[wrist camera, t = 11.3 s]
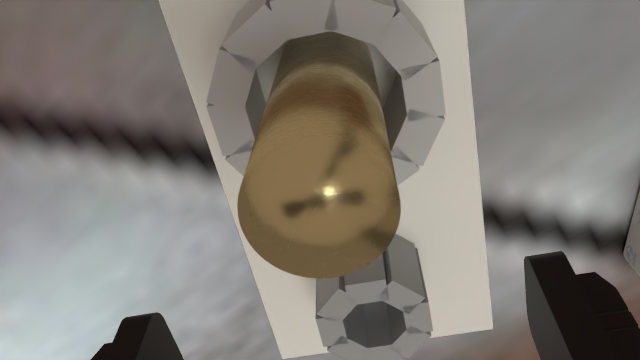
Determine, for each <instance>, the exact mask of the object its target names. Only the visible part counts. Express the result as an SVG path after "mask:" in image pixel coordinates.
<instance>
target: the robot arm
mask: <svg viewBox="0 0 640 360" xmlns="http://www.w3.org/2000/svg"><path fill="white" fill-rule="evenodd" d="M524 270H525V287H526V304H527V315H528V321H529V326H530V330H531V333H532V337H533V340H534V343H535V345H536V348H537V350H538V353H539V356H540V358H541V360H640V329H639V328H638V324H637V322H636V321H635V319H634V317H633V316H632V314H631V312H629V311H628V307H627V306H626V304H625V302H624V301H623V299H622V297H621V295H620V294H619V292H618V290H617V289H616V288H615V287H614V286H613V285H611V284H610V283H609V282H607V281H606V280H605V279H603V278H602V277H601V276H599V275H598V274H597V273H595V272H591V273H584V274H578V275H575V273H574V271H573V269H572V267H571V265H570V263H569V261H568V259H567V257H566V256H565V254H564V253H563V252H562V251H559V252H552V253H546V254H539V255H533V256H526V257H525V259H524ZM91 360H184V359H183V357H182V355H181V353H180V351H179V349H178V346H177V344H176V342H175V340H174V338H173V336H172V334H171V332H170V330H169V328H168V326H167V324H166V322H165V320H164V318H163V316H162V315H161V314H160V313H150V314H144V315H137V316H131V317H126V318H124V319H123V320H122V322H121V324H120V326H119V328H118V331H117V333H116V336H115V338H114V340H113V343H107V344H104V345H103V346H102V347H101V349H100V350H99V351H98V352H97V353H96V354H95V355H94V357H93V358H92V359H91Z"/></svg>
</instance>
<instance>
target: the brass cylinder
mask: <svg viewBox="0 0 640 360" xmlns="http://www.w3.org/2000/svg"><path fill="white" fill-rule="evenodd" d="M237 210H238V218H239V223H240V226H241V229H242V232H243V234H244V235H245V237H246V239H247V241H248V242H249V244H250V245H251V247H252V248H253V249H254V250H255V251H256V252H257V253H258V255H260V256H261V257H262V258H263V259H264V260H265V261H267V262H268V263H270V264H271V265H273V266H274V267H276V268H278V269H280V270H282V271H285V272H287V273H290V274H293V275H297V276H301V277H306V278H318V279H324V278H334V277H340V276H344V275H347V274H351V273H353V272H356V271H358V270H360V269H362V268H364V267H366V266H367V265H369V264H370V263H372V262H373V261H374V260H376V259H377V258H378V257H379V256H380V255H381V254H382V253H383V252H384V251H385V250H386V248H387V247H388V246H389V245H390V243H391V241H392V239H393V238H394V236H395V233H396V231H397V229H398V225H399V221H400V214H401V203H400V196H399V191H398V186H397V181H396V176H395V171H394V166H393V161H392V156H391V151H390V145H389V140H388V135H387V130H386V125H385V120H384V115H383V110H382V105H381V100H380V95H379V90H378V85H377V80H376V75H375V70H374V65H373V60H372V56H371V53H370V51H369V49H368V47H367V45H366V44H365V42H364V41H361V40H358V39H355V38H352V37H349V36H346V35H343V34H339V33H336V32H333V31H328V32H323V33H318V34H314V35H309V36H304V37H299V38H294V39H291V40H290V41H289V42H288V44H287V45H286V47H285V49H284V51H283V53H282V56H281V59H280V62H279V65H278V68H277V72H276V75H275V78H274V81H273V84H272V88H271V91H270V94H269V97H268V100H267V103H266V107H265V110H264V113H263V116H262V119H261V123H260V126H259V129H258V132H257V135H256V138H255V142H254V145H253V148H252V151H251V154H250V158H249V161H248V164H247V167H246V170H245V174H244V177H243V180H242V183H241V186H240V190H239V194H238V202H237Z"/></svg>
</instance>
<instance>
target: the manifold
mask: <svg viewBox="0 0 640 360" xmlns="http://www.w3.org/2000/svg"><path fill="white" fill-rule="evenodd" d="M158 1H159V4H160V7H161V10H162V12H163V15H164V18H165V21H166V24H167V27H168V30H169V33H170V36H171V38H172V41H173V44H174V47H175V50H176V53H177V56H178V59H179V62H180V64H181V67H182V70H183V73H184V76H185V79H186V82H187V85H188V87H189V90H190V93H191V96H192V99H193V102H194V105H195V108H196V111H197V113H198V116H199V119H200V122H201V125H202V128H203V131H204V134H205V137H206V139H207V142H208V145H209V148H210V151H211V154H212V157H213V160H214V163H215V165H216V168H217V171H218V174H219V177H220V180H221V183H222V186H223V188H224V191H225V194H226V197H227V200H228V203H229V206H230V209H231V212H232V214H233V217H234V220H235V223H236V226H237V229H238V232H239V235H240V238H241V240H242V243H243V246H244V249H245V252H246V255H247V258H248V261H249V264H250V266H251V269H252V272H253V275H254V278H255V281H256V284H257V287H258V290H259V292H260V295H261V298H262V301H263V304H264V307H265V310H266V313H267V315H268V318H269V321H270V324H271V327H272V330H273V333H274V336H275V339H276V341H277V344H278V347H279V350H280V353H281V356H282V359H286V358H293V357H300V356H307V355H314V354H321V353H328V352H331V353H333V354H335V355H337V356H339V357H341V358H344V359H346V360H402V357H401V356H403V357H405V358H407V359H408V358H409V357H410V356H411V355H412V354H413V353H414V352H415V351H416V350H417V349H418V348H419V347H420V346H421V345H422V344H423V343H425V342H426V341H427V340H428V339H429V338H432V337H439V336H446V335H453V334H460V333H467V332H474V331H481V330H488V329H493V322H492V311H491V300H490V288H489V277H488V266H487V255H486V243H485V232H484V221H483V210H482V198H481V187H480V176H479V165H478V154H477V142H476V131H475V120H474V109H473V97H472V86H471V75H470V64H469V52H468V41H467V30H466V19H465V7H464V0H158ZM328 31H333V32H336V33H339V34H343V35H346V36H349V37H352V38H355V39H358V40H361V41H364V42H365V44H366V45H367V47H368V49H369V51H370V53H371V56H372V60H373V65H374V70H375V75H376V80H377V85H378V90H379V95H380V100H381V105H382V110H383V115H384V120H385V125H386V130H387V135H388V140H389V145H390V151H391V156H392V161H393V166H394V171H395V176H396V181H397V186H398V191H399V196H400V203H401V214H400V221H399V225H398V229H397V231H396V233H395V236H394V238H393V239H392V241H391V243H390V245H389V246H388V247H387V248H386V250H385V251H384V252H383V253H382V254H381V255H380V256H379V257H378V258H377V259H376V260H374V261H373V262H372V263H370V264H369V265H367V266H366V267H364V268H362V269H360V270H358V271H356V272H353V273H351V274H347V275H344V276H340V277H334V278H324V279H318V278H306V277H301V276H297V275H293V274H290V273H287V272H285V271H282V270H280V269H278V268H276V267H274V266H273V265H271V264H270V263H268V262H267V261H265V260H264V259H263V258H262V257H261V256H260V255H258V253H257V252H256V251H255V250H254V249H253V248H252V247H251V245H250V244H249V242H248V241H247V239H246V237H245V235H244V234H243V232H242V229H241V226H240V223H239V218H238V210H237V202H238V194H239V190H240V186H241V183H242V180H243V177H244V174H245V170H246V167H247V164H248V161H249V158H250V154H251V151H252V148H253V145H254V142H255V138H256V135H257V132H258V129H259V126H260V123H261V119H262V116H263V113H264V110H265V107H266V103H267V100H268V97H269V94H270V91H271V88H272V84H273V81H274V78H275V75H276V72H277V68H278V65H279V62H280V59H281V56H282V53H283V51H284V49H285V47H286V45H287V44H288V42H289V41H290V40H291V39H294V38H299V37H304V36H309V35H314V34H318V33H323V32H328Z"/></svg>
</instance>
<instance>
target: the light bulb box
mask: <svg viewBox="0 0 640 360" xmlns="http://www.w3.org/2000/svg"><path fill="white" fill-rule="evenodd" d="M623 256H624V257H625V259H626V260H627V261H628V263H629V264H630V266H631V267H632V268H633V270H634V271H635V273H636V274H637V275H638V277H639V278H640V190H639V194H638V198H637V202H636V206H635V209H634V213H633V217H632V221H631V225H630V229H629V232H628V236H627V240H626V244H625V248H624V252H623Z"/></svg>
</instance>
